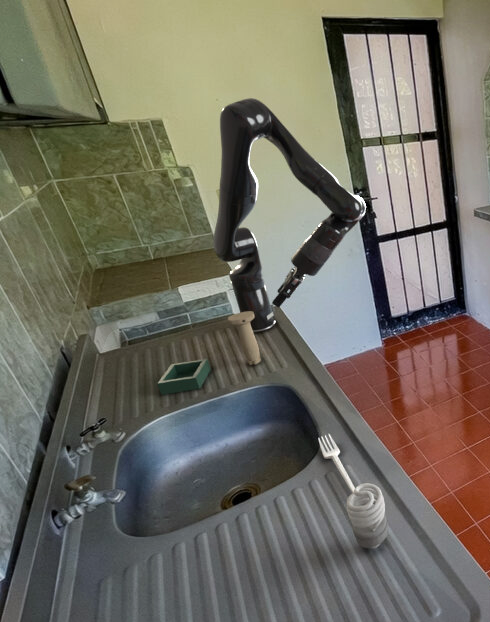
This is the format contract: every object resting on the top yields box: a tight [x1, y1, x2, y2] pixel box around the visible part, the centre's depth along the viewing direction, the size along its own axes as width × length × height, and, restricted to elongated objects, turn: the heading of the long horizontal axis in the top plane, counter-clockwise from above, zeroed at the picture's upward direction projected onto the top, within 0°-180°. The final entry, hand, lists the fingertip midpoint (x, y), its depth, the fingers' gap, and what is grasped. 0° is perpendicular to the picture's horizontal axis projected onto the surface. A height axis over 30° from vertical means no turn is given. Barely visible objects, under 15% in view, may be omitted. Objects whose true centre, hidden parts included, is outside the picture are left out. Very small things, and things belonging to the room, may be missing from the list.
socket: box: [156, 358, 212, 395], centre depth 122 cm, size 10×9×4 cm
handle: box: [227, 311, 262, 366], centre depth 127 cm, size 5×6×15 cm
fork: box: [317, 433, 356, 497], centre depth 91 cm, size 3×20×2 cm, turn 36°
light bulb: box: [346, 482, 389, 549], centre depth 72 cm, size 6×6×12 cm
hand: (277, 299), depth 125 cm, fingers open, 8 cm apart
